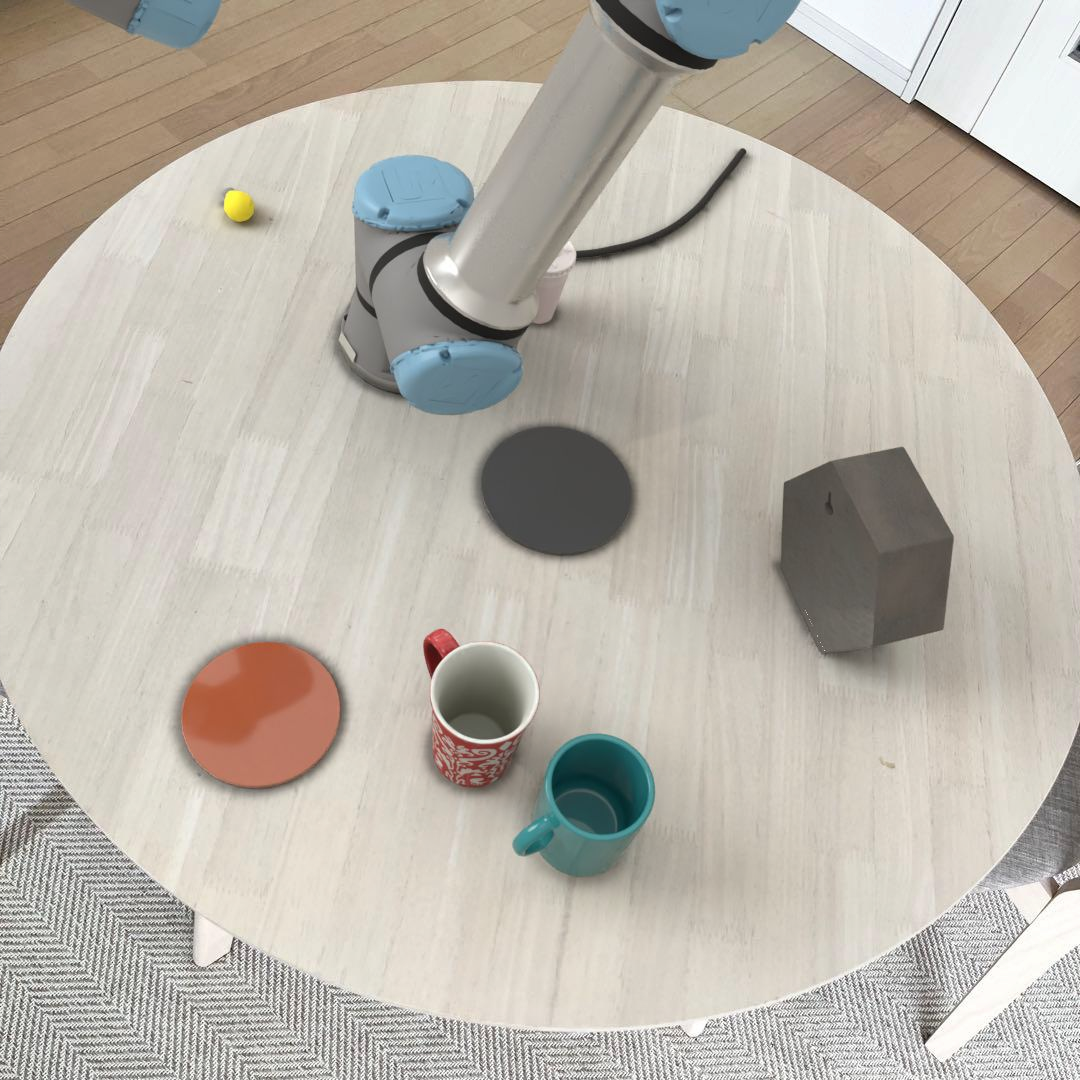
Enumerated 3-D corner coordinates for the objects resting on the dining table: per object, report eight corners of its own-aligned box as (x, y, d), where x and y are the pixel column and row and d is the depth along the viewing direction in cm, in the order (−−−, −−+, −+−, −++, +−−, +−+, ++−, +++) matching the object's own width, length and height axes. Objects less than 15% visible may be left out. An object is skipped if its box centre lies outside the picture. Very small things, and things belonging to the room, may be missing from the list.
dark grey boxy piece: (938, 678, 107) (961, 479, 98) (867, 697, 106) (883, 495, 96) (842, 598, 122) (854, 417, 113) (778, 613, 120) (784, 430, 111)
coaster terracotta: (281, 617, 108) (281, 614, 108) (371, 724, 103) (371, 722, 103) (151, 702, 102) (150, 699, 102) (240, 820, 97) (239, 818, 97)
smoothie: (573, 305, 133) (592, 214, 122) (551, 340, 130) (568, 251, 118) (524, 284, 134) (538, 192, 122) (501, 318, 131) (513, 228, 119)
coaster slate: (561, 405, 125) (562, 403, 125) (661, 502, 120) (662, 499, 120) (449, 477, 119) (449, 474, 118) (550, 582, 113) (551, 580, 113)
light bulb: (238, 232, 133) (223, 207, 130) (223, 210, 137) (208, 186, 134) (263, 217, 133) (248, 192, 131) (247, 196, 137) (233, 172, 134)
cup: (481, 823, 100) (492, 780, 90) (595, 761, 104) (617, 714, 95) (533, 915, 96) (550, 880, 87) (649, 847, 100) (677, 807, 91)
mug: (541, 768, 103) (561, 710, 92) (455, 816, 100) (464, 762, 88) (471, 658, 108) (482, 589, 97) (387, 700, 105) (388, 635, 93)
